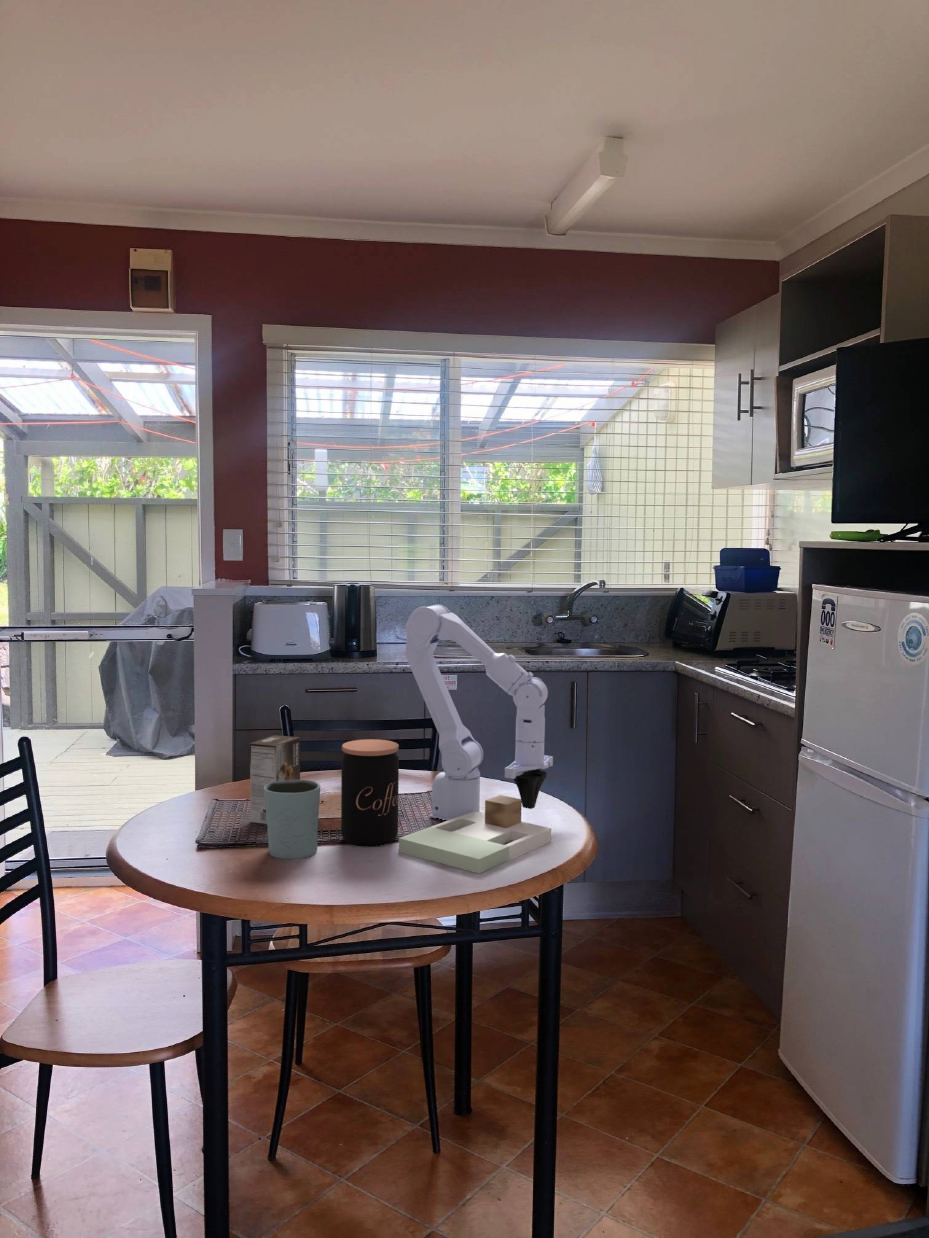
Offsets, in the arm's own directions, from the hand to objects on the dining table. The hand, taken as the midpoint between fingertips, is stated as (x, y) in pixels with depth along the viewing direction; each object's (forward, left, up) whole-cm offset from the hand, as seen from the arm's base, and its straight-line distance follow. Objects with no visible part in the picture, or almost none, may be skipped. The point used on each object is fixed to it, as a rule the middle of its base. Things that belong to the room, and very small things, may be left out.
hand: (528, 807), depth 186 cm
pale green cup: (-24, -41, -4) cm, 48 cm away
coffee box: (-42, -29, -4) cm, 51 cm away
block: (0, -9, -1) cm, 9 cm away
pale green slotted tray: (0, -17, -4) cm, 18 cm away
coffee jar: (-18, -27, -4) cm, 33 cm away
